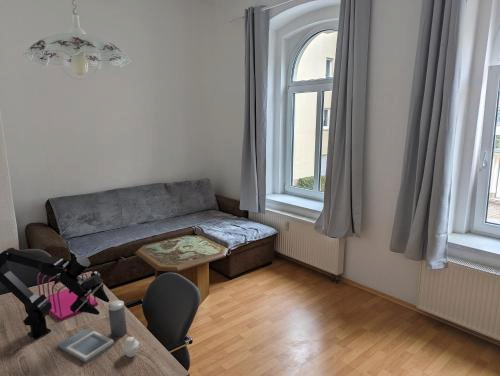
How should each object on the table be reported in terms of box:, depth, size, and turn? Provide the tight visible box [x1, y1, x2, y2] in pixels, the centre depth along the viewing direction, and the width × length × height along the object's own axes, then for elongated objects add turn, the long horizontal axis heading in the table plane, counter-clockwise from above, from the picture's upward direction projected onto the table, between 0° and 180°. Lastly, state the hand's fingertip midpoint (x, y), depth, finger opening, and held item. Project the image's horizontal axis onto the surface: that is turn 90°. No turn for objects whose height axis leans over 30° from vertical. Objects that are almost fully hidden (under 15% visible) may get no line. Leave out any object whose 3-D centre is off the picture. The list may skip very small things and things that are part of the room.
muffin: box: [121, 336, 140, 358], centre depth 131 cm, size 6×6×7 cm
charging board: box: [56, 328, 115, 364], centre depth 137 cm, size 18×12×2 cm, turn 59°
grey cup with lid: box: [107, 300, 128, 339], centre depth 143 cm, size 6×6×13 cm
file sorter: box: [36, 269, 99, 322], centre depth 167 cm, size 17×25×16 cm
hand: (104, 307), depth 142 cm, fingers open, 9 cm apart
